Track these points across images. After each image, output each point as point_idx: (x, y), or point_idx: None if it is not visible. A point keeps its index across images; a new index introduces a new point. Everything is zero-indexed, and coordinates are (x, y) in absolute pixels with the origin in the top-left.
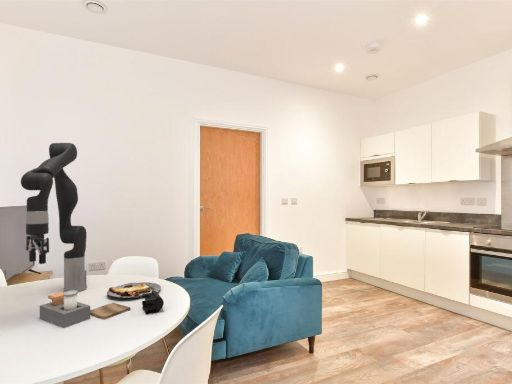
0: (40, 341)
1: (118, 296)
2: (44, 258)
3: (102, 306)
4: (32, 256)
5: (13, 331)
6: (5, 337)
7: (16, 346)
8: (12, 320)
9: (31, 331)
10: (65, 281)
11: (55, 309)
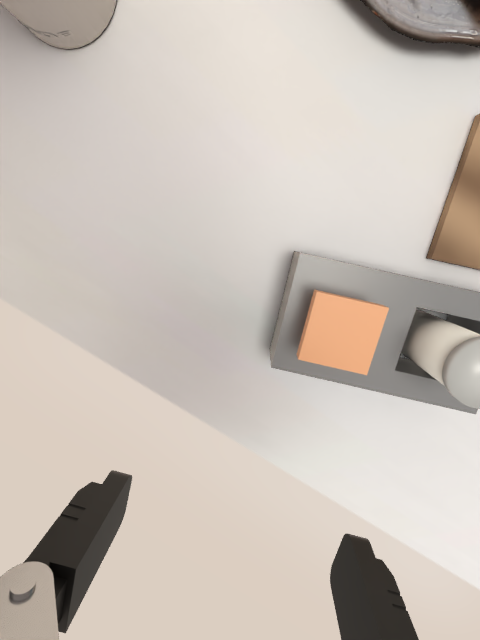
0: (449, 479)
1: (453, 8)
2: (403, 621)
3: (465, 181)
4: (99, 550)
5: (293, 452)
6: (313, 485)
7: (405, 515)
8: (193, 391)
9: (352, 437)
10: (14, 1)
11: (389, 384)
